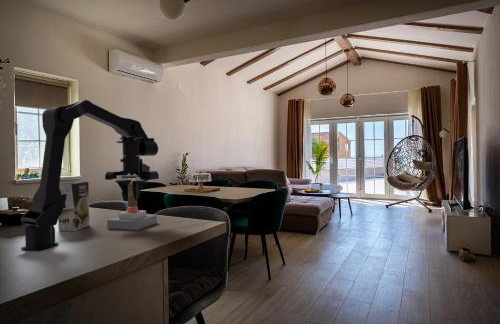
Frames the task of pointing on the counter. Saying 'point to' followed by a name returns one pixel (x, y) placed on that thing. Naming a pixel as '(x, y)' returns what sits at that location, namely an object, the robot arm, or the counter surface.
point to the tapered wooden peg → (131, 197)
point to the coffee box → (74, 206)
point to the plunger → (132, 209)
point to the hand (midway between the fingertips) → (132, 199)
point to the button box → (132, 220)
